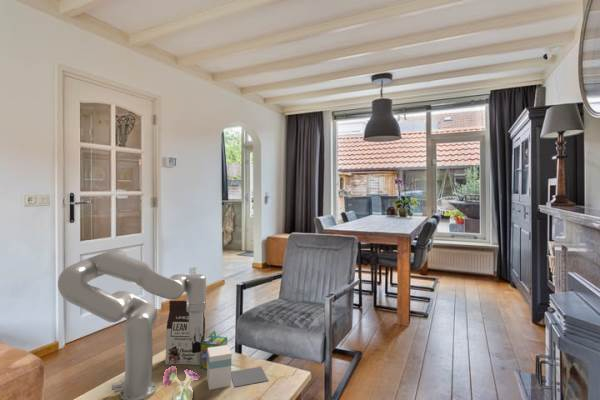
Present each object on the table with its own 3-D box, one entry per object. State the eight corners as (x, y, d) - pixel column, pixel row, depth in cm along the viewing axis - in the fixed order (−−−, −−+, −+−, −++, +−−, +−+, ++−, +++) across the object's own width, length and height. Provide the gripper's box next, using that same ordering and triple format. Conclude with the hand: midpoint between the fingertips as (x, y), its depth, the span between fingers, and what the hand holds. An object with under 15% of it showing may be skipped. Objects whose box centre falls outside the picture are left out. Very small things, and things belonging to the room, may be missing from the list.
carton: (209, 389, 131) (209, 356, 131) (206, 378, 139) (207, 347, 139) (230, 385, 134) (231, 353, 134) (227, 375, 142) (228, 344, 142)
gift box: (219, 371, 145) (219, 337, 145) (199, 368, 147) (200, 335, 147) (227, 361, 154) (228, 329, 154) (209, 359, 156) (210, 327, 156)
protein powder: (163, 366, 149) (164, 303, 149) (170, 356, 157) (171, 297, 157) (201, 365, 149) (202, 303, 149) (205, 356, 158) (206, 297, 158)
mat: (234, 387, 133) (234, 386, 133) (229, 372, 144) (229, 371, 144) (268, 380, 138) (268, 380, 138) (261, 367, 149) (261, 366, 149)
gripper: (185, 301, 138) (185, 345, 139) (187, 313, 125) (187, 362, 125) (204, 299, 141) (204, 342, 141) (207, 310, 127) (208, 358, 127)
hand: (196, 351), depth 133 cm, fingers closed
